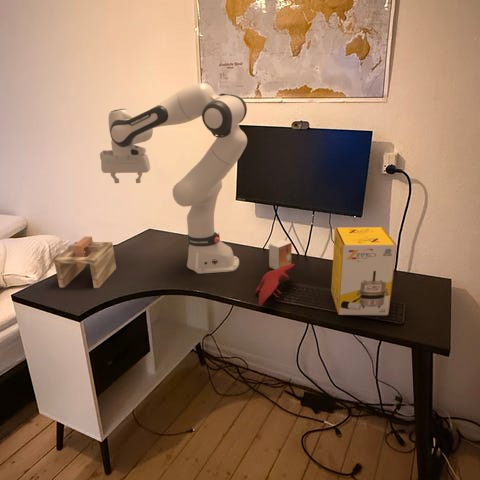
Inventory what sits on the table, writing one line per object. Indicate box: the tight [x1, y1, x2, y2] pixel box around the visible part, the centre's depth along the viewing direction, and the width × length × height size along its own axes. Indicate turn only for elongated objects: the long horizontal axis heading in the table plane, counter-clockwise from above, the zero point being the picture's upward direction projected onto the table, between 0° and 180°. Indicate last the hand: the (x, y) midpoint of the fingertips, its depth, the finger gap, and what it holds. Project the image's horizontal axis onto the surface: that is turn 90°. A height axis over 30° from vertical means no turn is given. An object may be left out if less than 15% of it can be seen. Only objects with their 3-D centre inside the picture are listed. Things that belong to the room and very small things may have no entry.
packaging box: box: [330, 226, 398, 316], centre depth 137 cm, size 16×16×25 cm
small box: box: [268, 239, 293, 270], centre depth 169 cm, size 8×6×10 cm
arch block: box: [73, 236, 94, 268], centre depth 162 cm, size 10×3×9 cm, turn 175°
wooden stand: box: [53, 241, 117, 289], centre depth 164 cm, size 16×18×14 cm
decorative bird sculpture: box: [255, 263, 296, 307], centre depth 146 cm, size 28×9×15 cm
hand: (127, 182), depth 173 cm, fingers open, 8 cm apart
